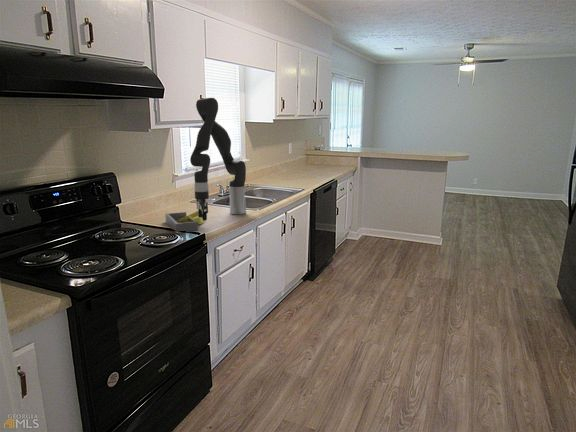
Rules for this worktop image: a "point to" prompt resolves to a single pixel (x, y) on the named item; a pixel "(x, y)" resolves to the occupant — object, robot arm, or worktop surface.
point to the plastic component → (191, 218)
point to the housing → (178, 227)
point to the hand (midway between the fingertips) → (202, 218)
